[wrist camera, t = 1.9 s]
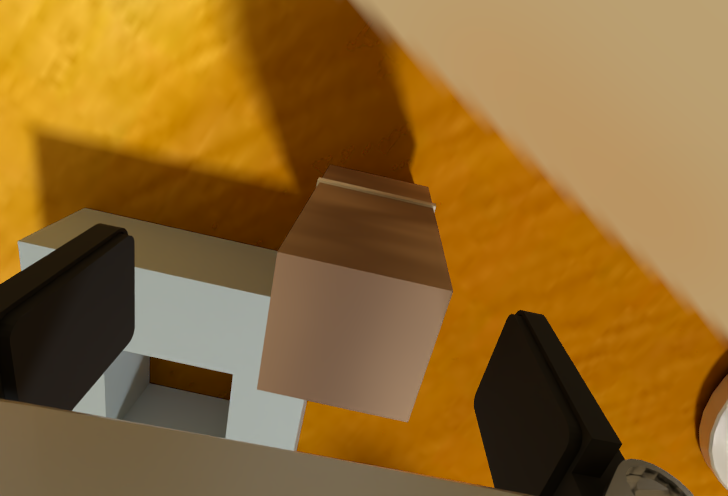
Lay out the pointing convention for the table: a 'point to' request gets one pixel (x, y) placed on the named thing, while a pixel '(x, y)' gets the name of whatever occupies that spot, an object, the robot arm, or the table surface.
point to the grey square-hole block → (188, 331)
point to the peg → (357, 296)
